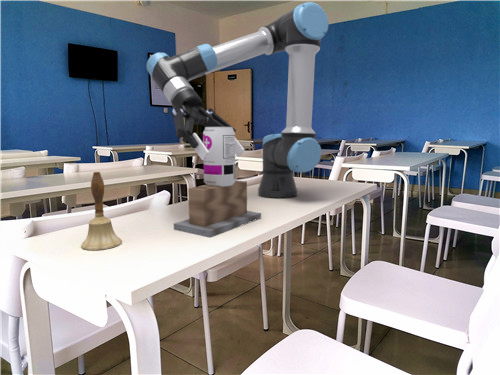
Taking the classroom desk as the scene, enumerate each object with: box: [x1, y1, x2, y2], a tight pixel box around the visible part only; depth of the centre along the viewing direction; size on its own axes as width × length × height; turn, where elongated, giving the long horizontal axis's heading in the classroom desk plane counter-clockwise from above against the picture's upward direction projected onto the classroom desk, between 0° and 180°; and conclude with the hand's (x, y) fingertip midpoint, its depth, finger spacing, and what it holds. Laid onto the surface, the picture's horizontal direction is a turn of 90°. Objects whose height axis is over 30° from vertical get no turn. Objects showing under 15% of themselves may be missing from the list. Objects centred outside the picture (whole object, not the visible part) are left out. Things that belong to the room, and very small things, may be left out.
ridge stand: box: [173, 179, 262, 238], centre depth 93 cm, size 22×12×10 cm, turn 145°
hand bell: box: [80, 171, 123, 251], centre depth 75 cm, size 8×8×16 cm
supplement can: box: [202, 126, 236, 187], centre depth 91 cm, size 8×8×15 cm
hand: (224, 154), depth 89 cm, fingers open, 13 cm apart
